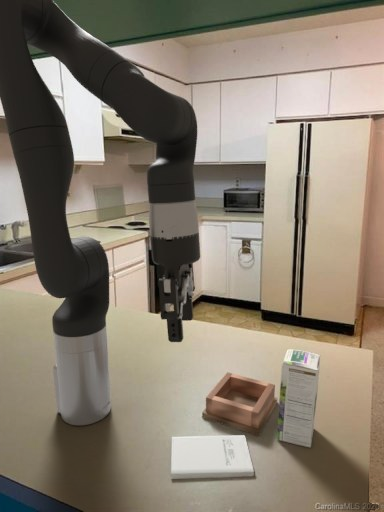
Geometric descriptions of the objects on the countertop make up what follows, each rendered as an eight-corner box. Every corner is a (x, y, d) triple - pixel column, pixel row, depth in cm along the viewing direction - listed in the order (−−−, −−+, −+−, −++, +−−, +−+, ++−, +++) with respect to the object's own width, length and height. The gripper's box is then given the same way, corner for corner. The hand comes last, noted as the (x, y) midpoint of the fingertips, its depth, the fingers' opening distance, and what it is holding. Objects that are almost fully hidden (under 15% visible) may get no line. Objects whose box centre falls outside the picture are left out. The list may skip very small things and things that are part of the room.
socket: (202, 417, 71) (202, 398, 70) (225, 387, 81) (226, 370, 80) (259, 436, 66) (260, 415, 65) (277, 402, 76) (278, 384, 75)
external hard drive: (171, 443, 66) (244, 441, 66) (171, 482, 58) (253, 479, 58) (171, 435, 65) (244, 433, 66) (170, 473, 57) (254, 470, 58)
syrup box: (281, 420, 70) (285, 347, 67) (315, 428, 68) (320, 353, 65) (276, 440, 65) (280, 362, 62) (312, 449, 63) (318, 369, 60)
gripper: (162, 225, 67) (169, 314, 70) (136, 240, 53) (146, 349, 56) (205, 223, 65) (210, 314, 69) (189, 238, 52) (197, 350, 55)
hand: (181, 329), depth 63 cm, fingers open, 8 cm apart
